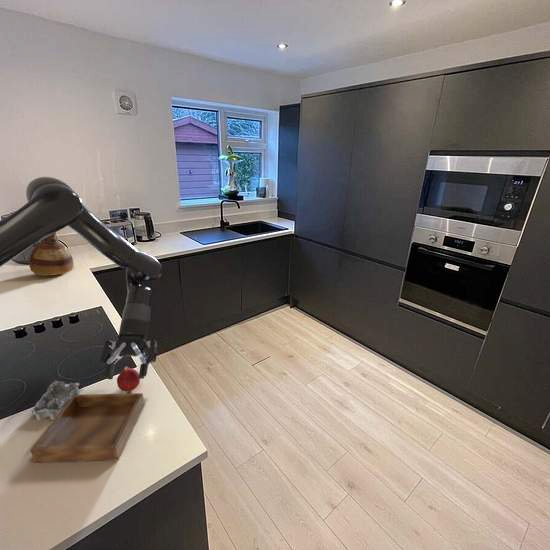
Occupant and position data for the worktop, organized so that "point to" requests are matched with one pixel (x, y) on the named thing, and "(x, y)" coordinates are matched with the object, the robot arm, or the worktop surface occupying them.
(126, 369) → the onion
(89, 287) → the worktop surface
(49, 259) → the ceramic pitcher
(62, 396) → the egg carton
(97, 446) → the wooden tray
